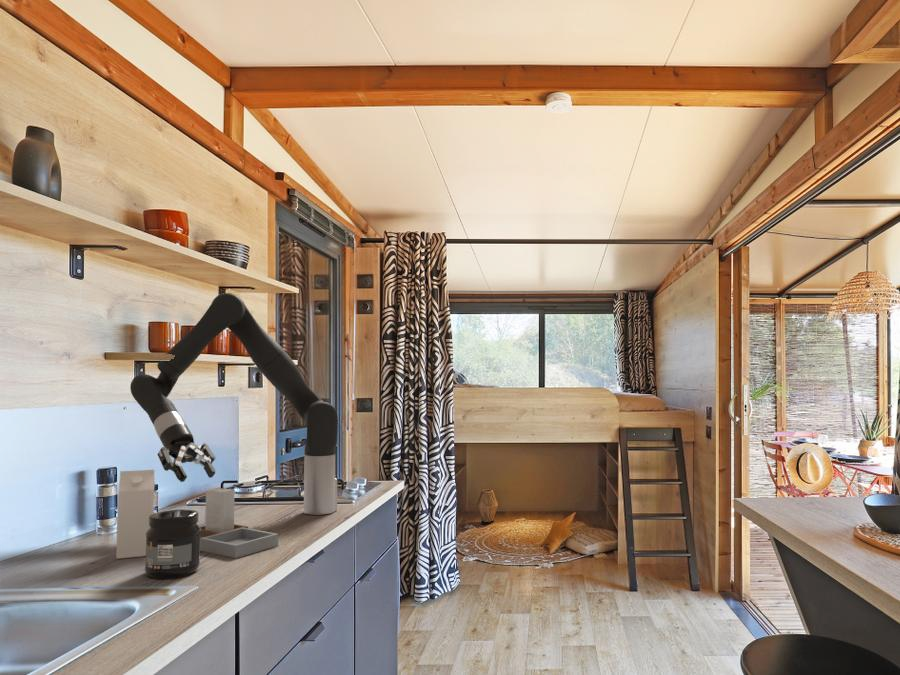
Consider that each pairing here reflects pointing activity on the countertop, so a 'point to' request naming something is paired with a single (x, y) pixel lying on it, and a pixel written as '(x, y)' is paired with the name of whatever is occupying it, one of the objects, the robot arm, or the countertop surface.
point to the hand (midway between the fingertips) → (198, 477)
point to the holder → (208, 533)
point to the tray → (238, 542)
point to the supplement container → (172, 544)
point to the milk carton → (134, 512)
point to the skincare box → (219, 510)
